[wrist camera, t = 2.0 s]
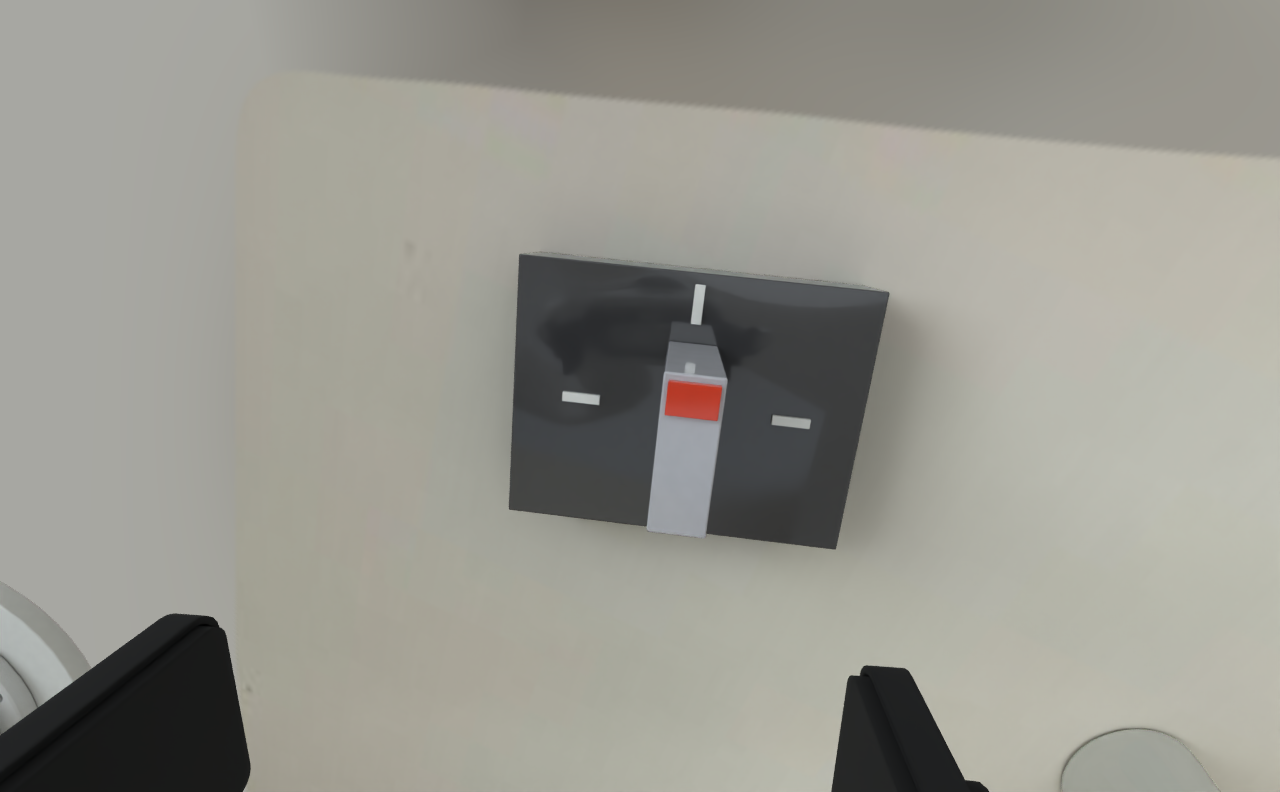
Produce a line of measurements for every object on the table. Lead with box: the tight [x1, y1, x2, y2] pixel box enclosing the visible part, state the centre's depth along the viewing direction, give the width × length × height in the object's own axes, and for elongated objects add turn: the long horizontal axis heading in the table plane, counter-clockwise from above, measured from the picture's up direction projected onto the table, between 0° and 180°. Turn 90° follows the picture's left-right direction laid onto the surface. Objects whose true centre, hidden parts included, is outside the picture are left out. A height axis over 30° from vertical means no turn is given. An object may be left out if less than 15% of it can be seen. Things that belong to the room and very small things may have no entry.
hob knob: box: [646, 341, 728, 538], centre depth 19 cm, size 5×2×5 cm, turn 174°
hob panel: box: [509, 252, 889, 549], centre depth 23 cm, size 13×10×3 cm
